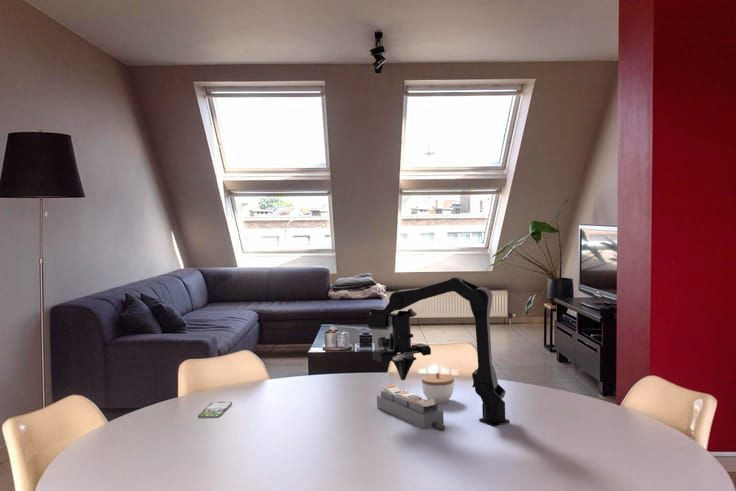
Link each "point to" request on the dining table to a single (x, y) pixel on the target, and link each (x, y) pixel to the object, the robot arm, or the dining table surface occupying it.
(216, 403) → the smartphone
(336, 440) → the dining table surface
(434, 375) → the lidded jar
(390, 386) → the block
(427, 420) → the rocker switch panel
